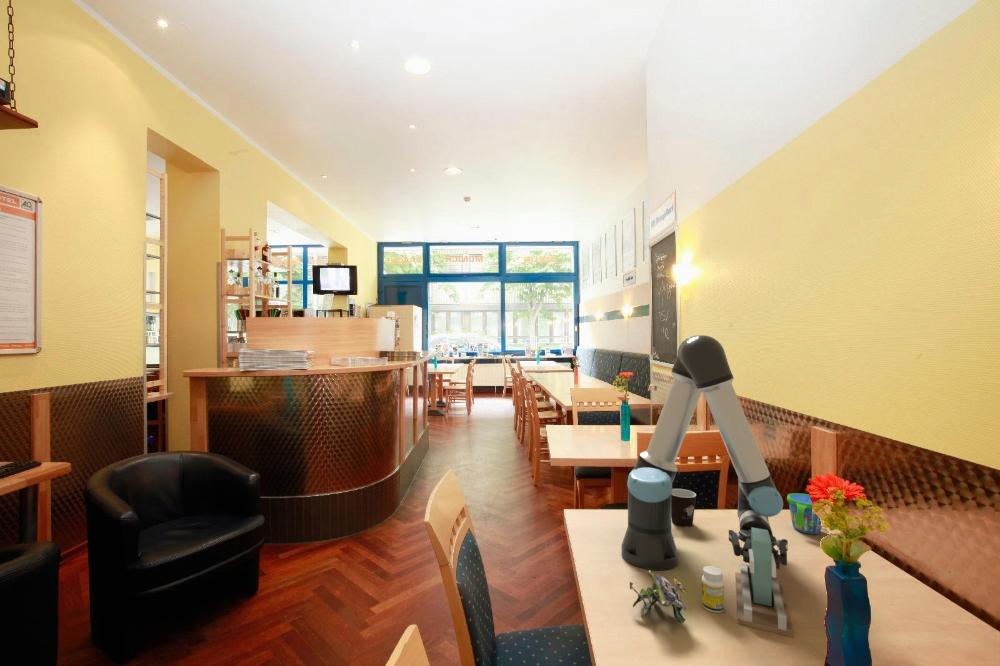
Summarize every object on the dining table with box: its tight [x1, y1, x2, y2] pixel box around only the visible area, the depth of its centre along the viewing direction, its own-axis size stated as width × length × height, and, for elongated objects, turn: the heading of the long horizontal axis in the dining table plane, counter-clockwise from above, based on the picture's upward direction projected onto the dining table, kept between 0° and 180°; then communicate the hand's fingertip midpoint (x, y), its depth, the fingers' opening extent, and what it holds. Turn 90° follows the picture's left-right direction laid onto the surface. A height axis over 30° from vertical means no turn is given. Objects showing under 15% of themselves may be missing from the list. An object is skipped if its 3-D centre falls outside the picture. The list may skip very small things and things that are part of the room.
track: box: [735, 563, 794, 638], centre depth 105 cm, size 22×10×4 cm, turn 154°
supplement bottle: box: [701, 565, 725, 614], centre depth 103 cm, size 5×5×8 cm
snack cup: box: [786, 492, 823, 535], centre depth 146 cm, size 16×10×10 cm
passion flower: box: [629, 569, 687, 625], centre depth 100 cm, size 11×11×12 cm
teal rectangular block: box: [751, 527, 772, 606], centre depth 106 cm, size 8×4×14 cm, turn 154°
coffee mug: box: [671, 488, 697, 528], centre depth 151 cm, size 12×9×10 cm
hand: (763, 569), depth 101 cm, fingers closed on teal rectangular block, 3 cm apart
